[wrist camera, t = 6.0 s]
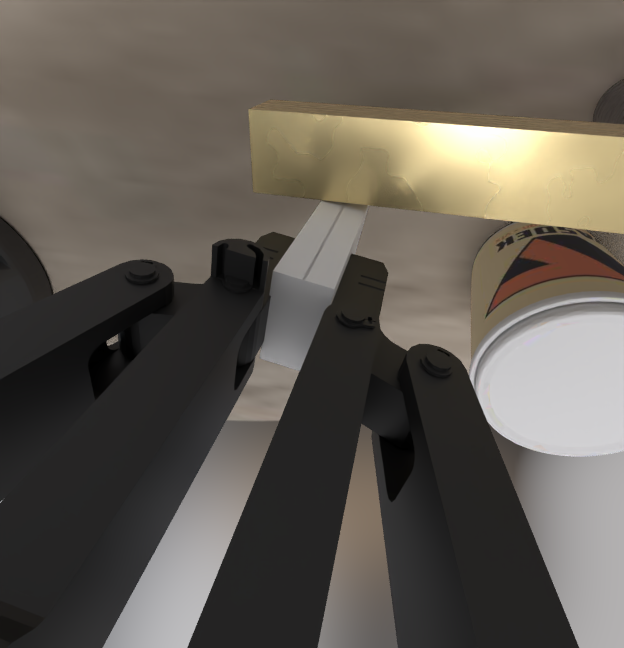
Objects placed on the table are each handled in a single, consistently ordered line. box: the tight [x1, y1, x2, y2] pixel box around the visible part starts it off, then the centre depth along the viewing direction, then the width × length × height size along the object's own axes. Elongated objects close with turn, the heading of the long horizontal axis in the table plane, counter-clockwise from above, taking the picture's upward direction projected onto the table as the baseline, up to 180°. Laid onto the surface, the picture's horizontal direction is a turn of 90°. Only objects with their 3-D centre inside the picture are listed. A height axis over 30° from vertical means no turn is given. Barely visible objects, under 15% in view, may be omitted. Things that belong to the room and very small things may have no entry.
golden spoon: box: [248, 100, 624, 234], centre depth 12 cm, size 4×18×3 cm, turn 89°
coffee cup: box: [469, 222, 624, 456], centre depth 23 cm, size 9×9×12 cm
